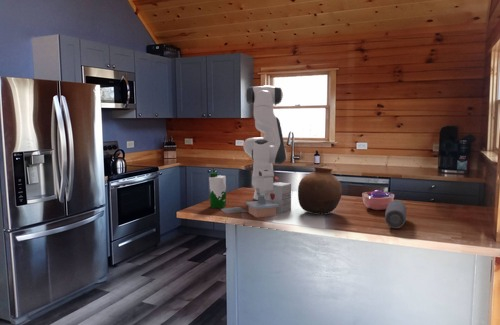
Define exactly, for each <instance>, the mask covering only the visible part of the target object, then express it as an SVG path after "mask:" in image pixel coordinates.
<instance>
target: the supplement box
mask: <svg viewBox="0 0 500 325" xmlns="http://www.w3.org/2000/svg"><path fill="white" fill-rule="evenodd" d="M269 200H270V201H272V202H274V203H276V204H278V205H279V207H276V213H281V214H282V213H283V214H284V213H286V212H289V211H292V183H288V182H280V181H279V182H278V181H277V182H276V183H273V190H272V191H271V192H269Z"/></svg>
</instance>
